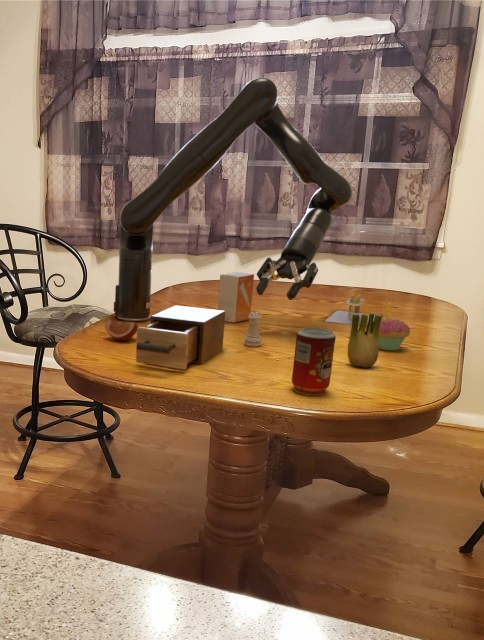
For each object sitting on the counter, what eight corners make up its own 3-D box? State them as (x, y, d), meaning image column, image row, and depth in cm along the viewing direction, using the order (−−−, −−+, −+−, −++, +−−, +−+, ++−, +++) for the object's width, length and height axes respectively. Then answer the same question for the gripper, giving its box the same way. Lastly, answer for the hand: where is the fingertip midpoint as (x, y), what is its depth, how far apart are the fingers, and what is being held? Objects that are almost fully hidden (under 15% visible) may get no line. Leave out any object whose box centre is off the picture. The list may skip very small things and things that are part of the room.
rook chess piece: (262, 343, 170) (265, 311, 168) (261, 347, 166) (264, 315, 164) (243, 342, 172) (246, 310, 169) (242, 346, 168) (244, 314, 165)
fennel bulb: (343, 365, 152) (350, 312, 148) (352, 361, 155) (359, 309, 151) (370, 371, 148) (378, 316, 144) (378, 366, 151) (386, 312, 148)
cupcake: (390, 354, 161) (398, 303, 157) (360, 346, 168) (367, 297, 164) (414, 350, 165) (423, 300, 161) (384, 342, 172) (391, 294, 168)
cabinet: (201, 364, 152) (204, 322, 149) (149, 356, 158) (150, 315, 155) (222, 350, 164) (225, 310, 161) (173, 343, 170) (175, 305, 167)
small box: (235, 323, 192) (239, 276, 188) (216, 319, 196) (219, 274, 192) (250, 319, 197) (254, 273, 193) (231, 315, 201) (235, 271, 197)
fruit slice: (100, 339, 174) (100, 320, 172) (114, 334, 179) (115, 315, 177) (128, 344, 169) (129, 324, 167) (142, 339, 174) (143, 320, 172)
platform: (324, 321, 194) (327, 298, 192) (337, 310, 209) (340, 289, 207) (369, 326, 188) (373, 302, 186) (379, 314, 203) (383, 292, 201)
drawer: (176, 375, 141) (178, 338, 139) (126, 367, 147) (127, 331, 144) (206, 355, 156) (208, 321, 154) (160, 348, 162) (161, 316, 159)
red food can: (317, 399, 130) (325, 336, 126) (283, 390, 135) (290, 329, 131) (335, 391, 134) (343, 330, 131) (302, 383, 139) (308, 324, 136)
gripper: (273, 233, 177) (243, 282, 173) (325, 237, 166) (294, 289, 163) (283, 252, 181) (254, 300, 178) (333, 257, 171) (304, 309, 168)
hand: (273, 295), depth 170 cm, fingers open, 8 cm apart
